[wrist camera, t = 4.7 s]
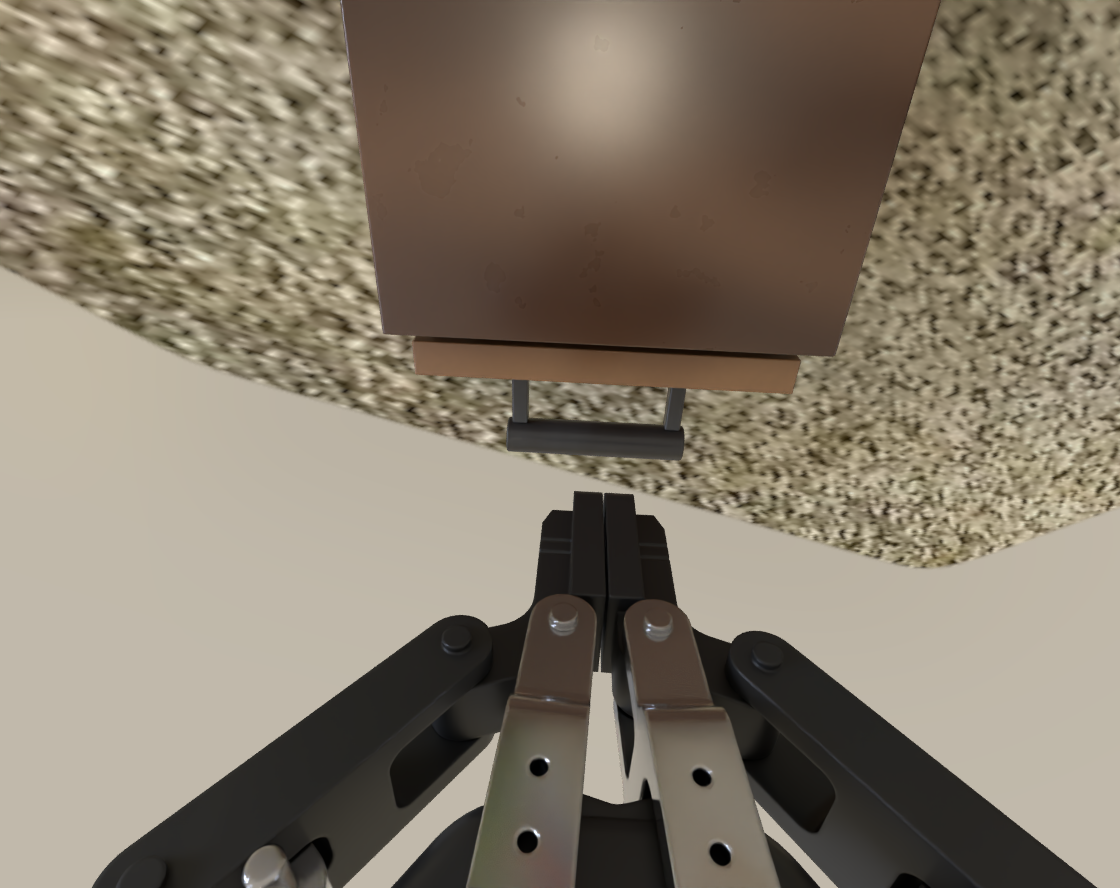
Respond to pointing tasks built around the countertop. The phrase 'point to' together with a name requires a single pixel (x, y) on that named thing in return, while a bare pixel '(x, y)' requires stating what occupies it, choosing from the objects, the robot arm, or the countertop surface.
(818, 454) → the countertop surface
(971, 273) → the countertop surface
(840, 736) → the robot arm
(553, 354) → the drawer
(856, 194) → the cabinet
